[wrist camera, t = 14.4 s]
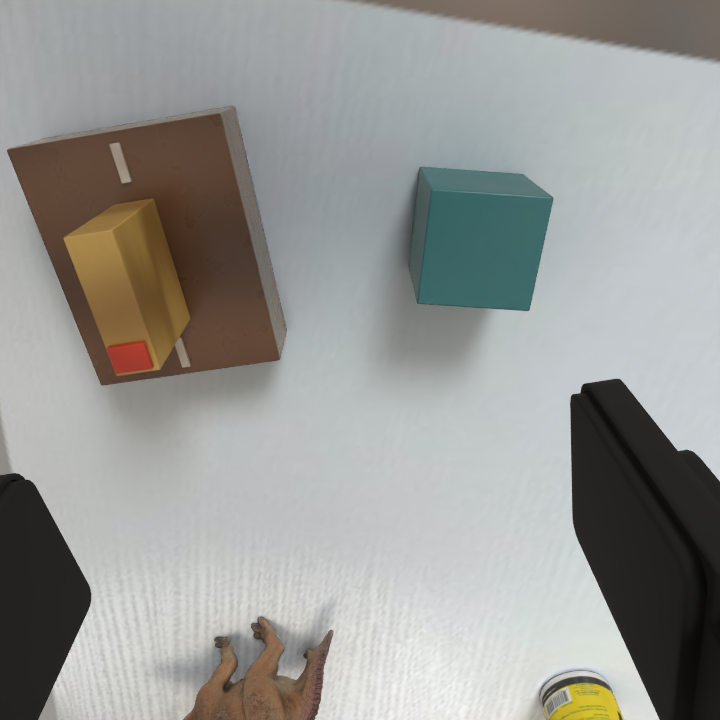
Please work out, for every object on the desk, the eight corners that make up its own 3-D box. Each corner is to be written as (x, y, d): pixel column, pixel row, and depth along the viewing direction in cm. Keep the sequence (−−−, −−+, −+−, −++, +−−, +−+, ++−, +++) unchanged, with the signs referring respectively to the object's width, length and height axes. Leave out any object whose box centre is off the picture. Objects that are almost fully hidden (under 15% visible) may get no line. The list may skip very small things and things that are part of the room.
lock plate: (42, 138, 25) (3, 150, 22) (235, 105, 24) (219, 113, 22) (124, 355, 29) (99, 388, 27) (287, 331, 29) (279, 362, 26)
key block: (419, 166, 25) (431, 188, 22) (524, 174, 26) (554, 197, 22) (408, 267, 27) (416, 304, 24) (505, 274, 28) (529, 311, 24)
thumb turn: (113, 204, 23) (58, 239, 19) (154, 197, 23) (108, 231, 19) (153, 324, 25) (113, 379, 21) (191, 318, 25) (158, 373, 21)
